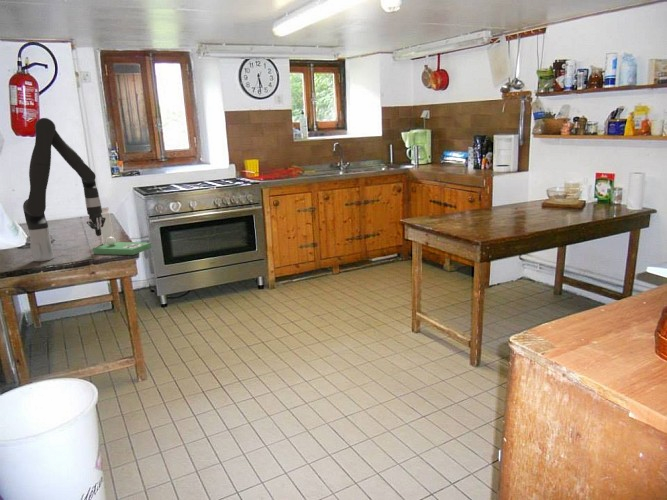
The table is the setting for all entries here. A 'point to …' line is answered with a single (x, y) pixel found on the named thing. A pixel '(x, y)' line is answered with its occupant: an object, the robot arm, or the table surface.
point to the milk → (106, 226)
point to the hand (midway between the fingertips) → (99, 235)
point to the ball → (111, 241)
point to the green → (122, 248)
